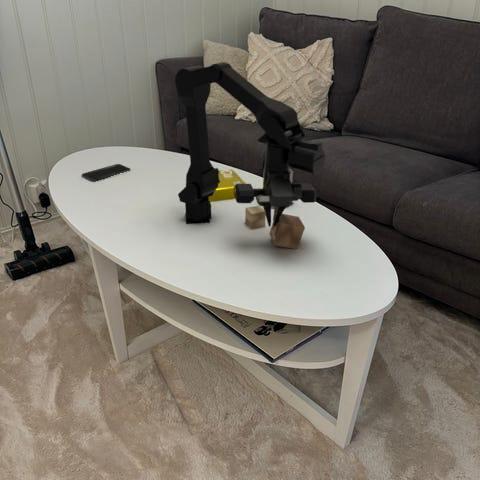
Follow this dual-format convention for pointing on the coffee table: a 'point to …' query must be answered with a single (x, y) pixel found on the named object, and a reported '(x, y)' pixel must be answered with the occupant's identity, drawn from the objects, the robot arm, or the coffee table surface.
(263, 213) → the oak block
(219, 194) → the element tile
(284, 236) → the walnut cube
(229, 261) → the coffee table surface
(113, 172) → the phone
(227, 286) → the coffee table surface
